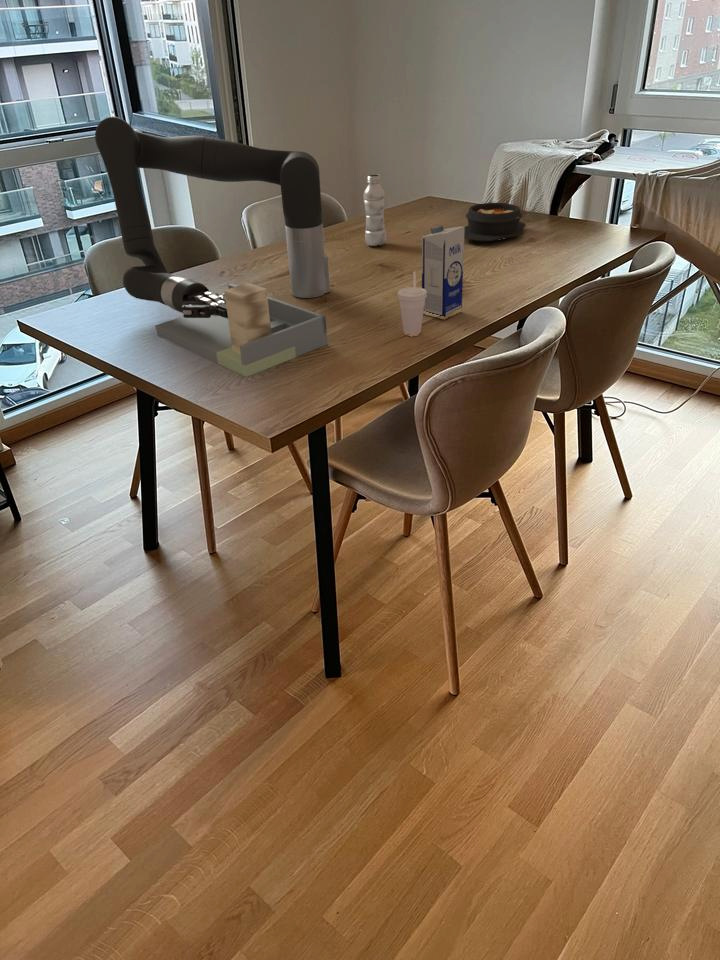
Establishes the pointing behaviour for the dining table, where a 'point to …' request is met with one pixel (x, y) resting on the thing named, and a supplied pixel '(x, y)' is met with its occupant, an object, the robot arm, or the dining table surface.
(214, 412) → the dining table surface
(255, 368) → the trap deck
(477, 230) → the casserole
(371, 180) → the plastic bottle
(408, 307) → the smoothie
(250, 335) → the maple block
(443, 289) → the milk carton
